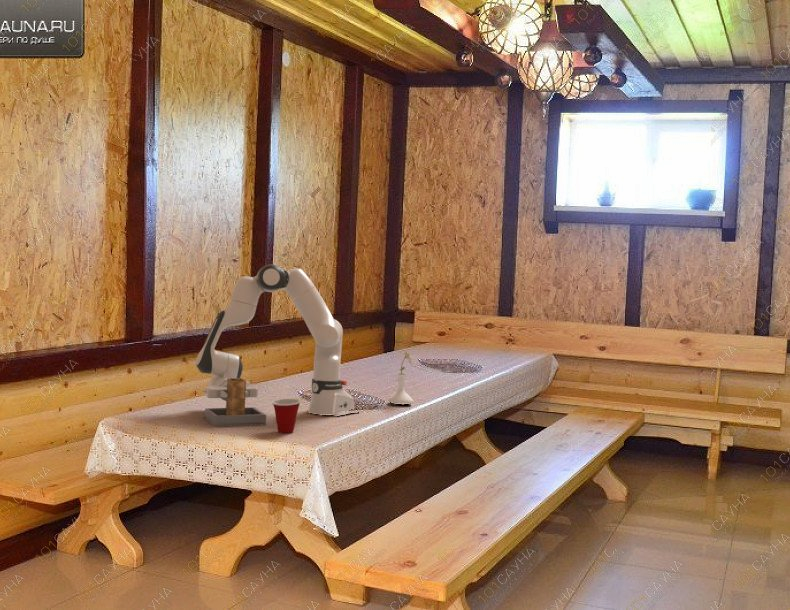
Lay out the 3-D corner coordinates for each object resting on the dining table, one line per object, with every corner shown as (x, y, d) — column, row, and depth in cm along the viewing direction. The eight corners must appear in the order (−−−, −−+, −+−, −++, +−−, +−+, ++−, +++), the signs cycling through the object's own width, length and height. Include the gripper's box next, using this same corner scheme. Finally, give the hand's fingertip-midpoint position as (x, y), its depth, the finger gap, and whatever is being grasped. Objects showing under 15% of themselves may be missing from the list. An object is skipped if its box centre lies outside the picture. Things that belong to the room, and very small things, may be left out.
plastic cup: (267, 429, 394) (268, 398, 393) (295, 428, 398) (296, 397, 397) (274, 435, 384) (275, 403, 383) (302, 434, 388) (304, 402, 387)
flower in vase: (410, 407, 456) (413, 351, 454) (384, 405, 458) (387, 349, 456) (415, 403, 469) (418, 348, 467) (390, 400, 471) (393, 346, 469)
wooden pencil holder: (239, 413, 409) (241, 378, 408) (244, 416, 403) (246, 381, 402) (225, 413, 407) (227, 378, 406) (230, 417, 400) (231, 381, 399)
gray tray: (254, 417, 416) (254, 407, 416) (265, 425, 402) (266, 414, 401) (204, 418, 408) (205, 408, 408) (214, 426, 394) (215, 416, 393)
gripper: (202, 382, 411) (210, 387, 399) (252, 381, 420) (262, 386, 407) (201, 397, 412) (209, 404, 399) (251, 396, 420) (261, 402, 408)
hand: (236, 395), depth 403 cm, fingers closed on wooden pencil holder, 5 cm apart
